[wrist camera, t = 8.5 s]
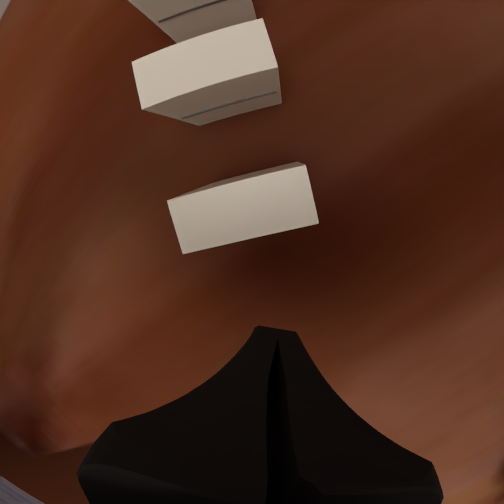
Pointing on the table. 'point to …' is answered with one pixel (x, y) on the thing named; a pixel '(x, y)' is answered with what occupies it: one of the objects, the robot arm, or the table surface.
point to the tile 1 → (195, 15)
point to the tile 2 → (211, 75)
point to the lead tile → (244, 207)
